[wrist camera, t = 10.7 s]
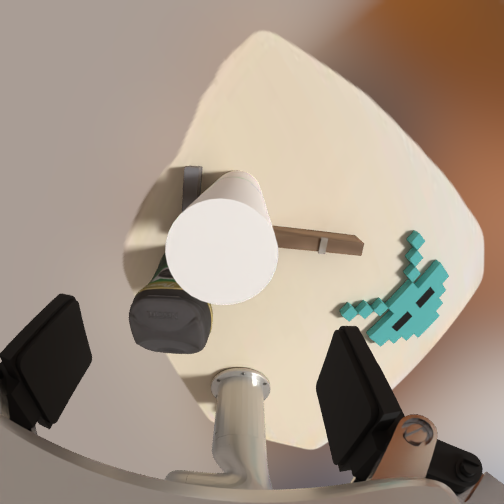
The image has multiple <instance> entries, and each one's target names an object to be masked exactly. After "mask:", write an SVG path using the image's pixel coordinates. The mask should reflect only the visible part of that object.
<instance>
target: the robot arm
mask: <svg viewBox="0 0 504 504" xmlns="http://www.w3.org/2000/svg"><path fill="white" fill-rule="evenodd" d="M0 358H1V360H2V362H1V363H0V504H504V484H502V483H501V482H499V481H498V480H497V479H496V478H494V477H493V476H492V475H490V474H489V473H488V472H485V473H484V474H483V473H482V464H481V462H480V460H479V459H478V458H477V456H475V455H474V454H472V453H470V452H467V451H464V450H462V449H459V448H457V447H455V446H452V445H450V444H447V443H445V442H443V441H440V440H438V439H437V430H436V427H435V426H434V424H433V423H432V422H431V421H430V420H429V419H428V418H426V417H424V416H422V415H418V414H410V415H407V416H404V414H403V412H402V410H401V408H400V406H399V404H398V401H397V399H396V397H395V396H394V394H393V391H392V389H391V387H390V386H389V384H388V382H387V380H386V378H385V376H384V374H383V372H382V370H381V368H380V366H379V365H378V363H377V362H376V360H375V358H374V356H373V354H372V352H371V350H370V349H369V347H368V345H367V343H366V341H365V339H364V337H363V336H362V334H361V332H360V330H359V328H358V327H357V326H341V327H340V328H339V330H335V332H334V334H333V337H332V340H331V343H330V346H329V349H328V352H327V355H326V358H325V361H324V364H323V367H322V370H321V372H320V375H319V378H318V381H317V384H316V392H317V396H318V400H319V404H320V408H321V412H322V416H323V421H324V425H325V429H326V433H327V438H328V442H329V446H330V451H331V455H332V459H333V463H334V464H335V465H338V466H339V470H340V472H341V471H347V470H352V474H353V476H354V478H353V479H352V481H351V482H350V483H348V484H342V485H334V486H326V487H316V488H303V489H285V490H273V489H272V485H271V481H270V477H269V472H268V465H267V453H266V435H265V417H264V400H265V399H266V398H267V397H268V396H269V393H270V383H269V380H268V379H267V378H266V377H265V376H264V375H263V374H261V373H260V372H258V371H255V370H252V369H248V368H232V369H227V370H224V371H222V372H220V373H219V374H217V375H216V376H215V377H214V379H213V381H212V384H211V391H212V393H213V395H214V397H215V398H216V399H217V405H216V415H215V425H214V434H213V445H212V454H213V457H214V459H215V461H216V463H217V464H218V465H219V467H220V468H221V469H222V470H223V471H224V472H225V473H203V472H194V471H185V470H184V471H183V470H175V471H172V472H170V473H169V474H168V475H167V476H166V478H165V480H162V479H158V478H153V477H148V476H145V475H141V474H136V473H133V472H129V471H126V470H122V469H119V468H116V467H112V466H110V465H106V464H104V463H101V462H98V461H95V460H92V459H90V458H87V457H84V456H82V455H79V454H77V453H74V452H72V451H69V450H67V449H65V448H62V447H61V446H58V445H56V444H54V443H52V442H50V441H48V440H46V439H44V438H42V437H40V436H38V435H37V431H36V427H35V424H36V422H38V423H39V424H40V425H42V426H44V427H46V428H48V429H50V428H51V426H52V424H54V423H56V422H57V421H58V419H59V417H60V415H61V413H62V412H63V410H64V408H65V406H66V404H67V403H68V401H69V399H70V397H71V396H72V394H73V392H74V391H75V389H76V387H77V385H78V384H79V382H80V380H81V379H82V377H83V375H84V374H85V372H86V370H87V369H88V367H89V366H90V363H91V361H92V354H91V351H90V347H89V344H88V340H87V336H86V333H85V329H84V324H83V320H82V317H81V311H80V307H79V303H78V301H76V299H75V297H73V296H70V295H66V294H59V295H58V296H57V297H56V298H54V300H52V301H51V302H50V303H49V304H48V305H47V306H46V307H45V308H44V309H43V310H42V311H41V312H40V313H39V314H38V315H37V316H36V317H35V318H34V319H33V320H32V321H31V322H30V323H29V324H28V325H27V326H26V327H25V328H24V329H23V330H22V331H21V332H20V333H19V334H18V335H17V336H16V337H15V338H14V339H13V340H12V341H11V342H10V343H9V344H8V345H7V346H6V348H5V349H4V350H3V351H2V352H1V353H0Z"/></svg>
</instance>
